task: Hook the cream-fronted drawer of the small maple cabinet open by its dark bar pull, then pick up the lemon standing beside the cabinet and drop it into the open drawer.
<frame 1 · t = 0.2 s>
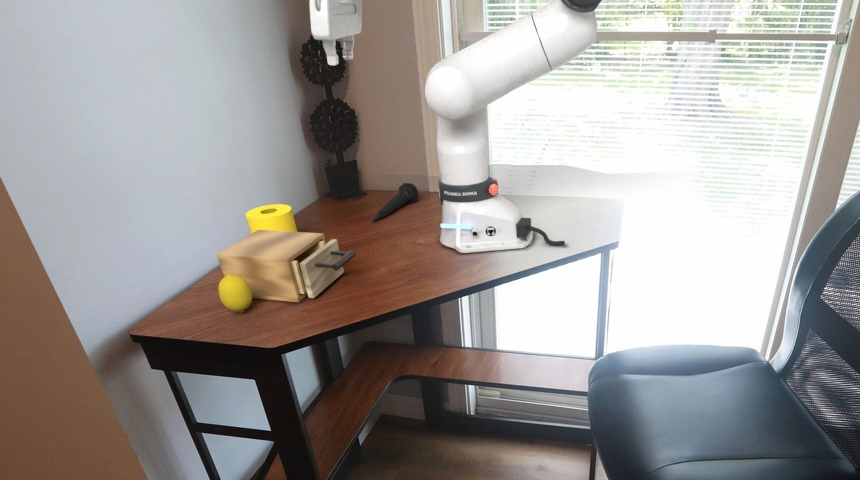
hand: (341, 62, 117), 39 cm above the table, tool pointing down, fingers open, 8 cm apart
tape roll: (279, 250, 135), on the table
microphone: (394, 210, 157), on the table
drawer: (305, 266, 115), point 5 cm above the table, slide at 2.0 cm
lemon: (242, 313, 109), on the table
cabinet: (283, 284, 119), on the table
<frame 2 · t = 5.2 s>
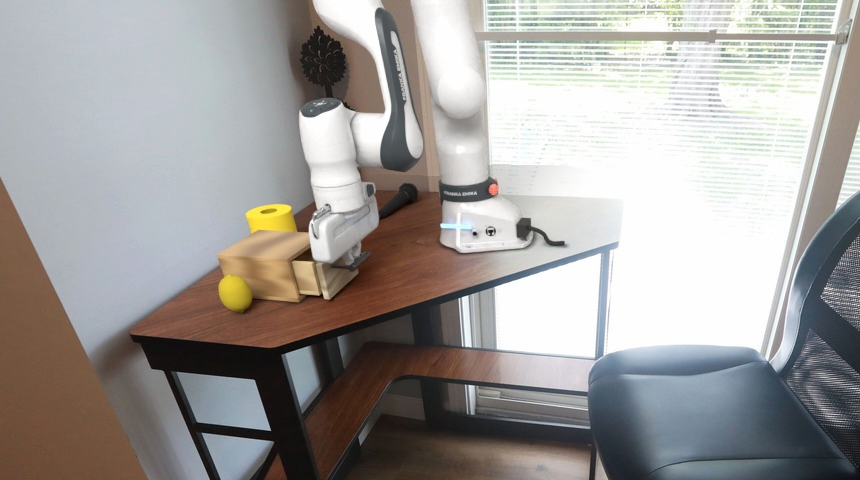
hand: (353, 266, 112), 5 cm above the table, tool pointing down, fingers closed, pressing on drawer
drawer: (320, 267, 114), point 5 cm above the table, slide at 5.4 cm, touching gripper
everything else where it was.
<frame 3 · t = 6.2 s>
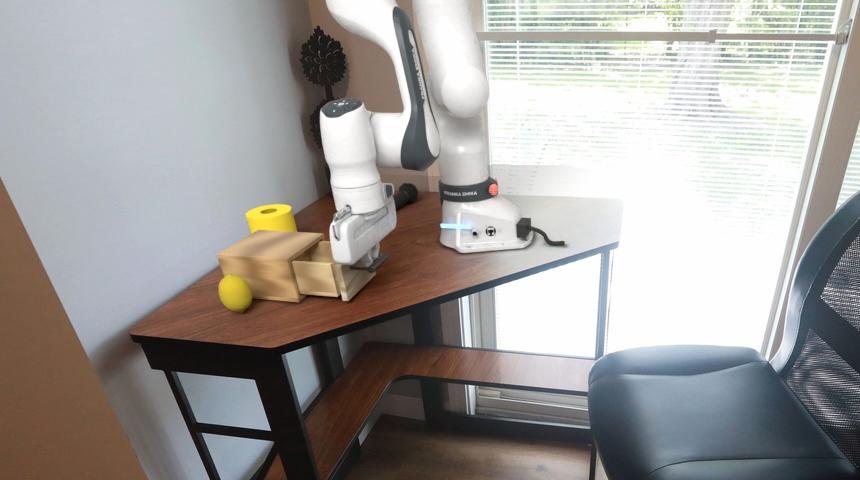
hand: (372, 267, 111), 5 cm above the table, tool pointing down, fingers closed, pressing on drawer
drawer: (338, 268, 113), point 5 cm above the table, slide at 9.4 cm, touching gripper
everything else where it was.
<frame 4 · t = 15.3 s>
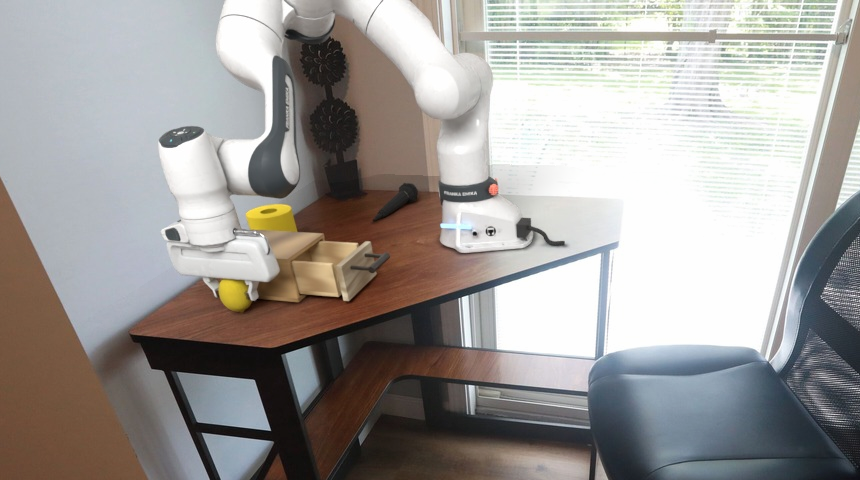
hand: (237, 297, 107), 3 cm above the table, tool pointing down, fingers closed on lemon, 5 cm apart
drawer: (339, 269, 113), point 5 cm above the table, slide at 9.6 cm
lemon: (242, 313, 109), on the table, touching gripper
everything else where it was.
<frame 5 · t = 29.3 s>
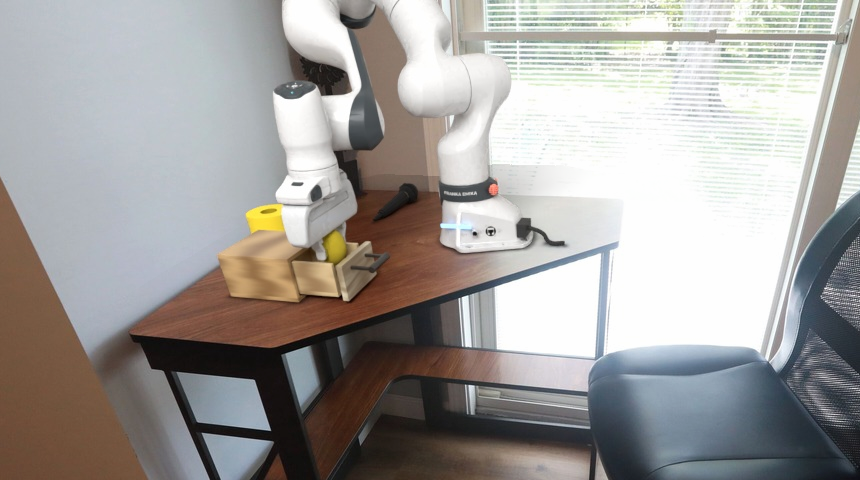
hand: (332, 251, 111), 8 cm above the table, tool pointing down, fingers closed on lemon, 5 cm apart
lemon: (336, 267, 113), point 5 cm above the table, touching gripper
everything else where it was.
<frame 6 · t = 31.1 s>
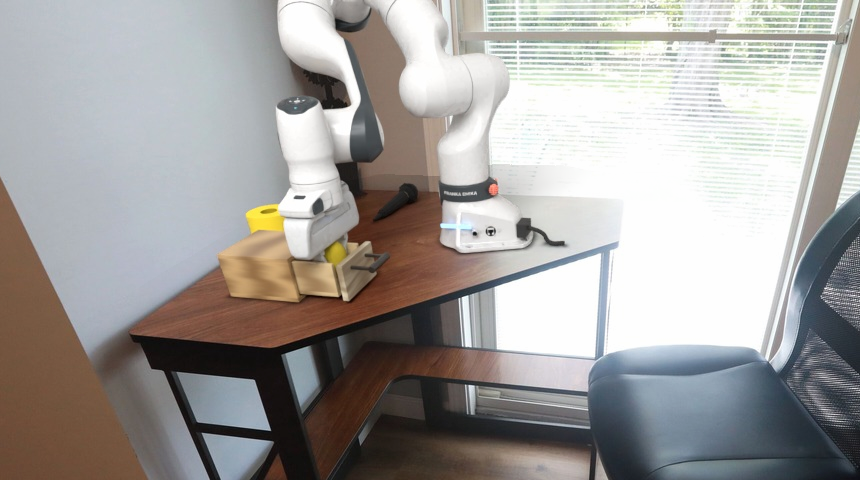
hand: (334, 262, 113), 6 cm above the table, tool pointing down, fingers closed on lemon, 5 cm apart
drawer: (339, 269, 113), point 5 cm above the table, slide at 9.6 cm, touching gripper
lemon: (337, 277, 115), point 2 cm above the table, touching gripper
everything else where it was.
when the fingers open (9 cm above the table, at t = 43.4 s): lemon drops 3 cm, resting on cabinet, drawer.
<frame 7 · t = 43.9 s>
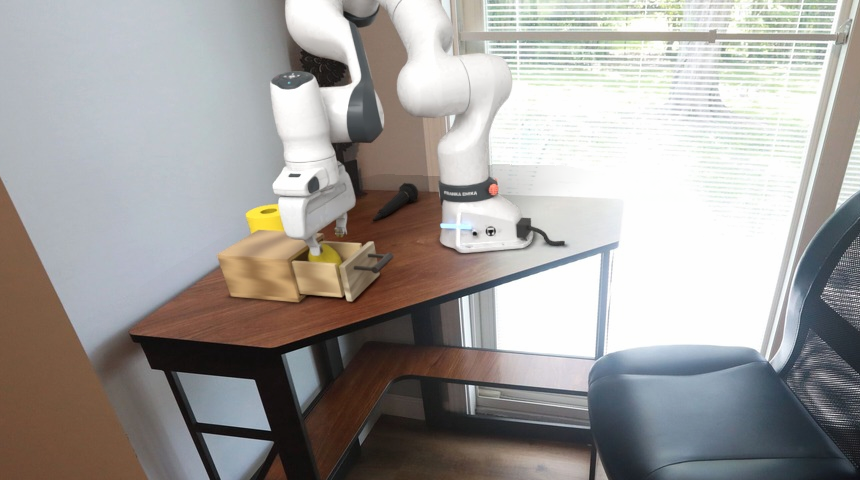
hand: (330, 244, 111), 10 cm above the table, tool pointing down, fingers open, 8 cm apart
drawer: (342, 269, 113), point 5 cm above the table, slide at 10.3 cm, touching lemon
lemon: (340, 276, 114), point 3 cm above the table, touching cabinet, drawer
everything else where it was.
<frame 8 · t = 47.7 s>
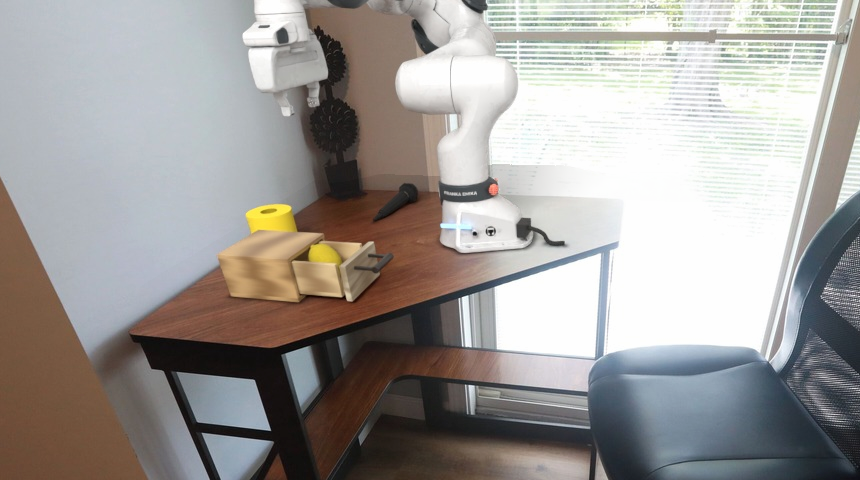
hand: (302, 111, 114), 31 cm above the table, tool pointing down, fingers open, 8 cm apart
nothing on the table moved.
at the end: drawer slide at 10.3 cm; lemon inside the target area in the drawer (2.5 cm from its centre), point 2.9 cm above the cabinet's base; lemon touching cabinet, drawer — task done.
